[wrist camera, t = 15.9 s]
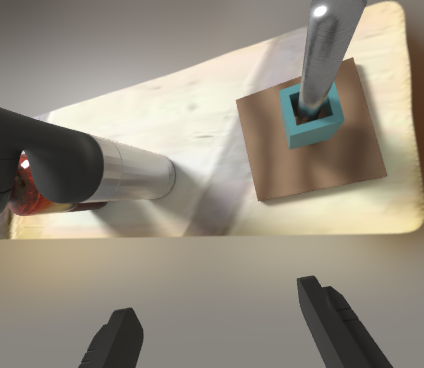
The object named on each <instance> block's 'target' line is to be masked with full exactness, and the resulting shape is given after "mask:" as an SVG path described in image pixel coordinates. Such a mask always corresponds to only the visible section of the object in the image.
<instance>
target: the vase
mask: <svg viewBox="0 0 424 368" xmlns="http://www.w3.org/2000/svg"><path fill="white" fill-rule="evenodd" d="M107 202H108V201H103V202H87V203H71V204H59V203H54V202H51V201H49V200H47V199H46V198H45V197H43V196H42V195H41V194H40V192H39V191H38V189H37V188H36V186H35V184H34V181H33V178H32V175H31V170H30V165H29V162H28V158H27V156H26V154H21V156H20V161H19V165H18V169H17V173H16V176H15V180H14V184H13V187H12V192H11V195H10V198H9V201H8V203H7V207H8V208H9V209H10V210H11V211H12V212H13V213H15V214H16V215H19V216H32V215H43V214H54V213H64V212H75V211H85V210H95V209H99V208H102V207H103V206H104V205H106V203H107Z"/></svg>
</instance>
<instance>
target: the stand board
mask: <svg viewBox="0 0 424 368" xmlns="http://www.w3.org/2000/svg"><path fill="white" fill-rule="evenodd" d="M301 78H302V76H300V77H298V78H295V79H292V80H290V81H287V82H284V83H281V84H279V85H276V86H273V87H270V88H268V89H265V90H262V91H259V92H257V93H254V94H251V95H249V96H246V97H243V98H240V99H238V100H236V103H237V108H238V112H239V117H240V122H241V126H242V131H243V135H244V140H245V144H246V149H247V153H248V158H249V162H250V167H251V171H252V176H253V180H254V185H255V190H256V194H257V199H258V201H261V200H266V199H272V198H277V197H282V196H287V195H293V194H298V193H303V192H308V191H313V190H319V189H324V188H329V187H334V186H339V185H345V184H350V183H355V182H360V181H365V180H371V179H376V178H381V177H386V176H387V173H386V169H385V166H384V162H383V159H382V155H381V152H380V149H379V145H378V142H377V138H376V135H375V131H374V128H373V124H372V121H371V118H370V114H369V111H368V107H367V104H366V100H365V97H364V94H363V90H362V87H361V83H360V80H359V76H358V73H357V69H356V66H355V63H354V59H353V57H352V58H350V59H347V60H344V61H342V62H341V65H340V67H339V70H338V72H337V74H336V77H335V79H334V82H335V86H336V89H337V93H338V97H339V100H340V104H341V107H342V111H343V115H344V118H345V121H344V122H343V123H342V125H341V126H340V127H339V128H338V130H337V131H336V132H335V133H334V134H333V136H332V137H331V138H330V139H329V140H325V141H321V142H317V143H314V144H310V145H306V146H302V147H298V148H294V149H291V150H289V146H288V142H287V138H286V134H285V130H284V125H283V121H282V117H281V108H280V95H279V91H280V90H283V89H285V88H288V87H291V86H294V85H297V84H299V83H301ZM295 121H296V117H295Z"/></svg>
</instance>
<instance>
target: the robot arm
mask: <svg viewBox="0 0 424 368" xmlns="http://www.w3.org/2000/svg"><path fill="white" fill-rule="evenodd" d="M23 150H24V152H25V154H26V156H27V158H28V162H29V165H30V170H31V175H32V178H33V181H34V184H35V186H36V188H37V189H38V191H39V192H40V194H41V195H42V196H43V197H45V198H46V199H47V200H49V201H51V202H54V203H59V204H71V203H87V202H103V201H121V200H139V199H158V198H162V197H164V196H165V195H167V194H168V193H169V192H170V190H171V189H172V187H173V185H174V181H175V170H174V167H173V165H172V163H171V161H170V160H169V159H168V158H166V157H165V156H163V155H160V154H156V153H153V152H150V151H146V150H143V149H139V148H136V147H132V146H129V145H125V144H122V143H118V142H115V141H111V140H108V139H104V138H100V137H97V136H93V135H90V134H86V133H83V132H79V131H76V130H72V129H68V128H64V127H60V126H57V125H53V124H50V123H46V122H43V121H40V120H36V119H33V118H30V117H27V116H24V115H21V114H18V113H15V112H12V111H9V110H6V109H3V108H0V214H1V213H2V212H3V210H4V209H5V207H6V205H7V203H8V201H9V198H10V195H11V192H12V187H13V184H14V180H15V176H16V173H17V169H18V165H19V161H20V156H21V153H22V151H23ZM297 286H298V295H299V303H300V307H301V310H302V313H303V316H304V318H305V320H306V323H307V325H308V327H309V330H310V332H311V334H312V336H313V338H314V341H315V343H316V345H317V348H318V350H319V352H320V354H321V357H322V359H323V361H324V363H325V366H326V368H393V367H392V365H391V364H390V363H389V361H388V360H387V358H386V357H385V355H384V354H383V353H382V351H381V350H380V349H379V347H378V345H377V344H376V343H375V342H374V340H373V338H372V337H371V336H370V334H369V333H368V331H367V330H366V329H365V327H364V325H363V324H362V323H361V321H359V319H358V317H357V315H356V314H355V313H354V311H353V310H352V309H351V307H350V306H349V304H348V303H347V301H346V300H345V299H344V297H343V295H341V294H340V293H339V292H337V291H336V290H335V289H334V288H332V287H331V286H328V287H323V288H322V287H321V285H320V284H319V282H318V280H317V279H316V278H315V276H307V277H302V278H297ZM142 343H143V328H142V326H141V324H140V322H139V320H138V318H137V316H136V314H135V312H134V310H133V309H132V308H125V309H119V310H115V311H114V312H113V314H112V315H111V317H110V320H109V322H108V324H106V325H103V327H102V328H101V329H100V330H99V331H98V333H97V334H96V335H95V336H94V338H93V340H92V342H91V344H90V346H89V348H88V350H87V353H85V355H84V358H83V359H82V361H81V362H82V363H81V364H80V365H79V367H78V368H135V367H136V364H137V360H138V357H139V354H140V350H141V347H142Z"/></svg>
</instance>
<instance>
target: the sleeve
mask: <svg viewBox="0 0 424 368" xmlns="http://www.w3.org/2000/svg"><path fill="white" fill-rule="evenodd" d="M300 86H301V83H299V84H297V85H294V86H291V87H288V88H285V89H283V90H280V91H279V95H280V108H281V117H282V121H283V125H284V130H285V134H286V138H287V142H288V146H289V150H291V149H294V148H298V147H302V146H306V145H310V144H314V143H317V142H321V141H325V140H329V139H330V138H331V137H332V136H333V134H334V133H335V132H336V131H337V130H338V128H339V127H340V126H341V125H342V123H343V122H344V121H345V118H344V115H343V111H342V107H341V104H340V100H339V97H338V93H337V89H336V86H335V82H334V81H333V84H332V86H331V88H330V91H329V93H328V96H327V98H326V100H325V103H324V105H323V107H322V110H321V112H320V114H319V117H318V119H317V120H315V121H311V122H308V123H305V124H301V125H298V126H297V125H296V121H295V117H297V109H298V101H299V94H300Z"/></svg>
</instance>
